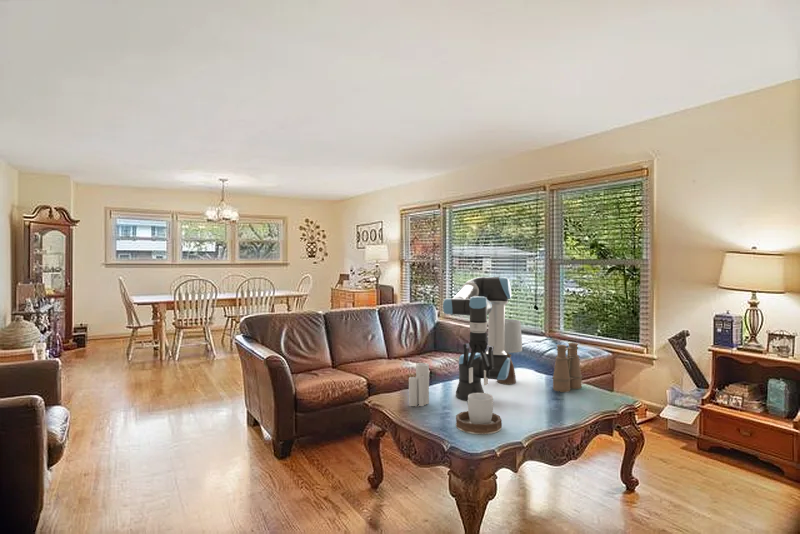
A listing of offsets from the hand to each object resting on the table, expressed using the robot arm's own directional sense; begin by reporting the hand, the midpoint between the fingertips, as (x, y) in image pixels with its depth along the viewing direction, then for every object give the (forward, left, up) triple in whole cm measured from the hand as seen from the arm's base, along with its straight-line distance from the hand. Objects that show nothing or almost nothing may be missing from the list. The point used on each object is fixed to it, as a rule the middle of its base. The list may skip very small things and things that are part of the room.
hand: (478, 383), depth 208 cm
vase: (-38, +13, -19) cm, 44 cm away
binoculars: (+18, +84, -19) cm, 88 cm away
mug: (+1, 0, -19) cm, 19 cm away
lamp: (-16, +78, -19) cm, 82 cm away
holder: (0, 0, -19) cm, 19 cm away
